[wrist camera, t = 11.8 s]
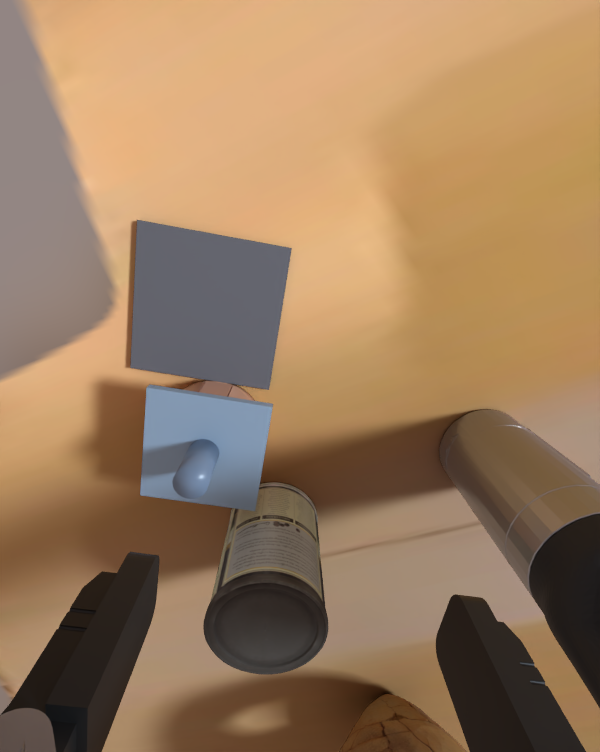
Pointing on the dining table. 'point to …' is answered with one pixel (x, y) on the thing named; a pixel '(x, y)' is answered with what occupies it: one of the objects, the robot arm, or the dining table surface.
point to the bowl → (398, 730)
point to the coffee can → (269, 586)
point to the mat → (206, 305)
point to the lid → (203, 447)
